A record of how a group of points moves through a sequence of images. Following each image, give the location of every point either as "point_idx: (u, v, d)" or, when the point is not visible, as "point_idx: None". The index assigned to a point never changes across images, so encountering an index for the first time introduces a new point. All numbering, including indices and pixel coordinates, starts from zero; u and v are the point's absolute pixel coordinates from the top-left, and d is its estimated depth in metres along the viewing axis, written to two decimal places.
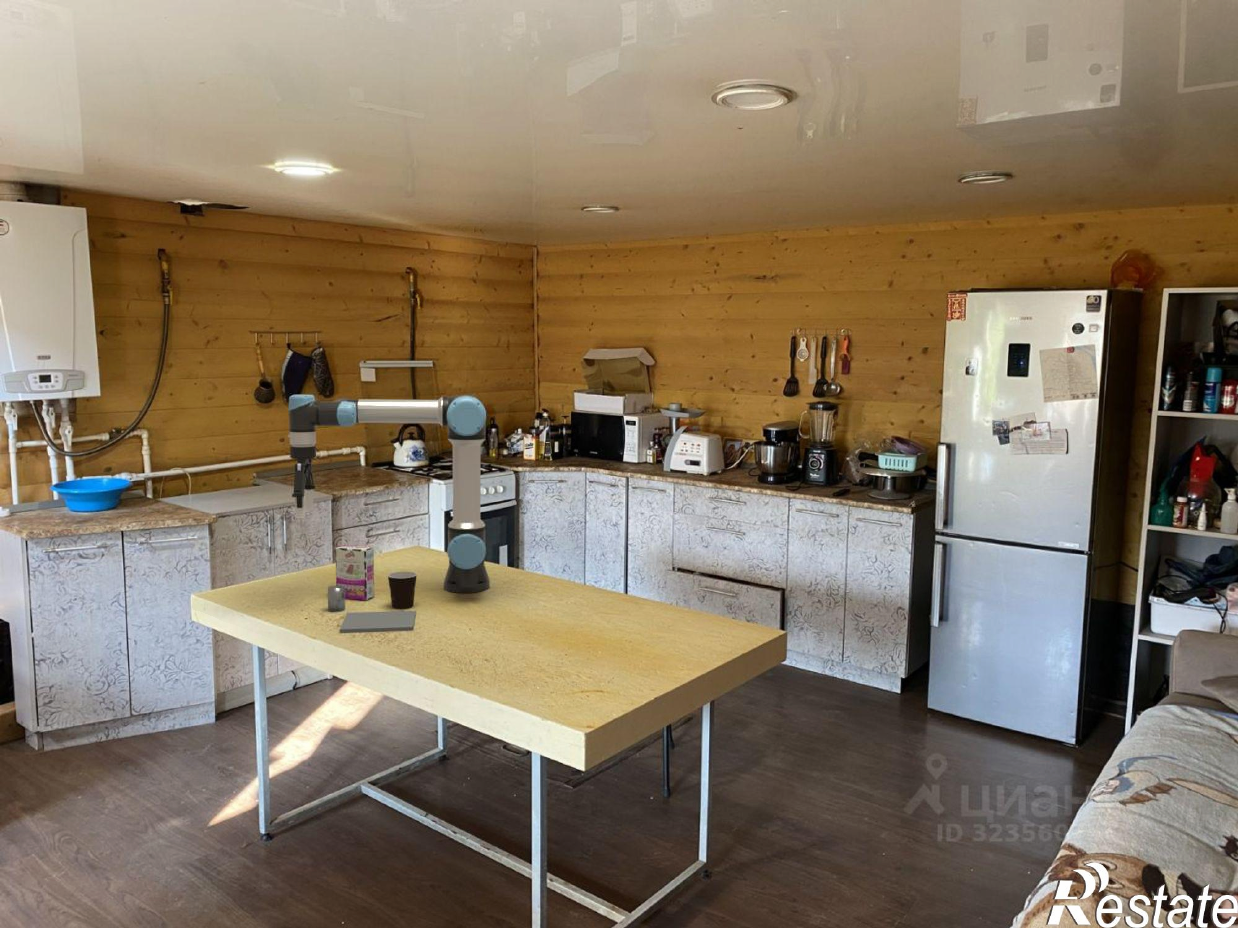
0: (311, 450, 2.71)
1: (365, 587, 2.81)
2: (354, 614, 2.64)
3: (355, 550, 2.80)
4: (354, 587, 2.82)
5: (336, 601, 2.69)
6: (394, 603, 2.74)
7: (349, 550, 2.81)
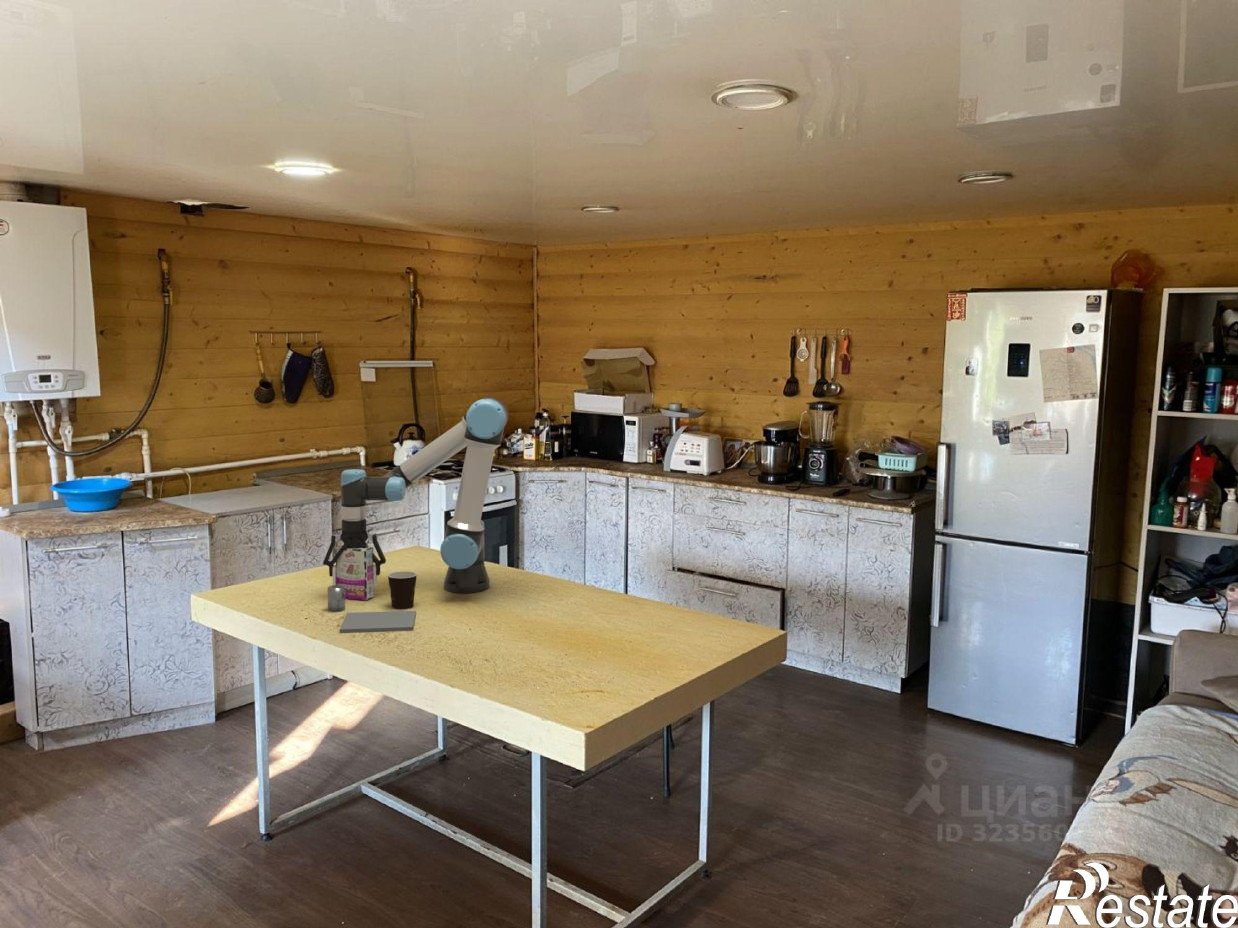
0: (344, 524, 2.79)
1: (365, 587, 2.81)
2: (354, 614, 2.64)
3: (355, 550, 2.80)
4: (354, 587, 2.82)
5: (336, 601, 2.69)
6: (394, 603, 2.74)
7: (349, 550, 2.81)
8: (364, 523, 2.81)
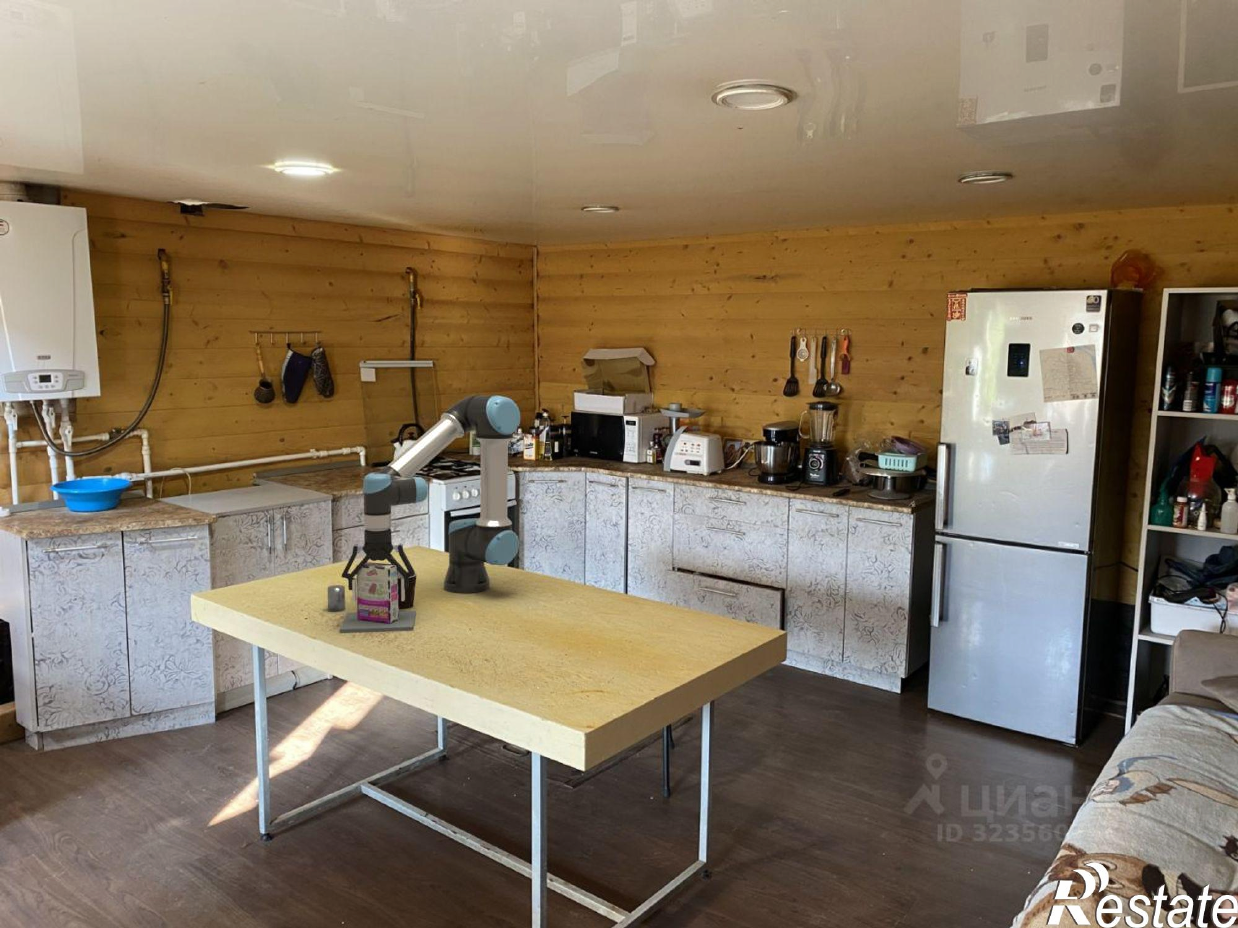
0: (368, 534, 2.53)
1: (388, 608, 2.55)
2: (354, 614, 2.64)
3: (378, 568, 2.55)
4: (377, 609, 2.56)
5: (336, 601, 2.69)
6: None
7: (371, 568, 2.55)
8: (389, 533, 2.55)
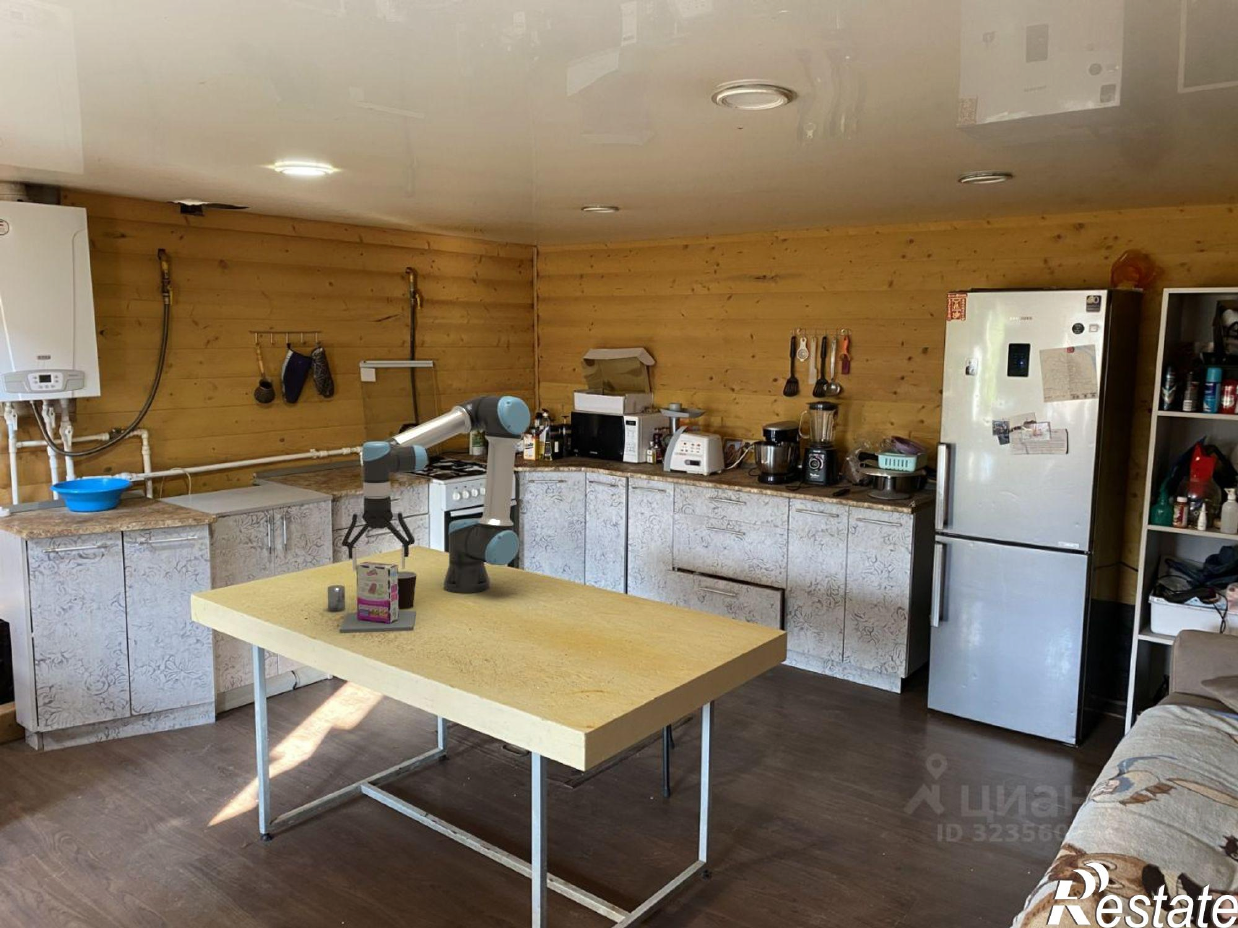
0: (367, 502, 2.52)
1: (388, 608, 2.55)
2: (354, 614, 2.64)
3: (378, 568, 2.55)
4: (377, 609, 2.56)
5: (336, 601, 2.69)
6: None
7: (371, 568, 2.55)
8: (389, 501, 2.54)
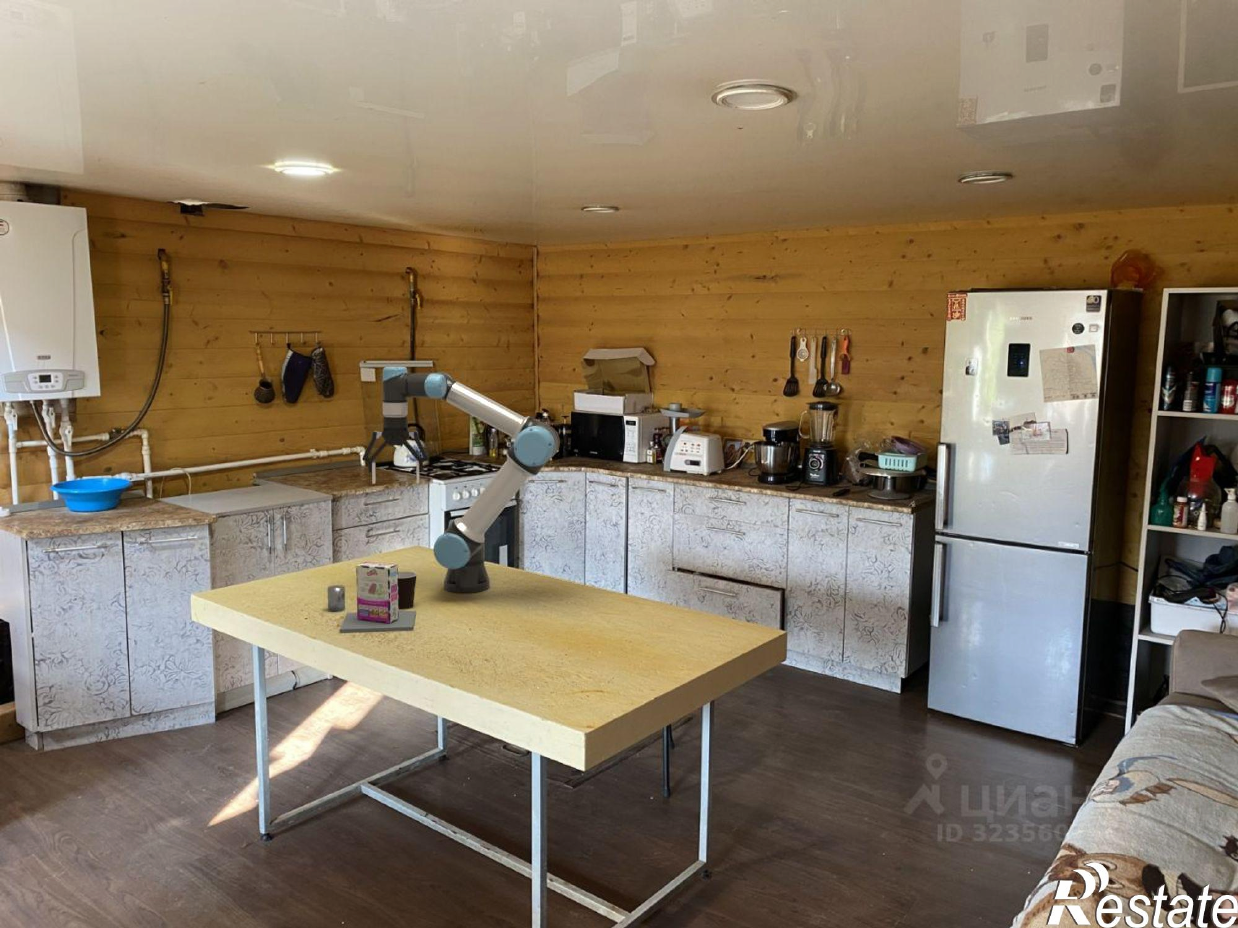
0: (386, 420, 2.78)
1: (388, 608, 2.55)
2: (354, 614, 2.64)
3: (378, 568, 2.54)
4: (377, 609, 2.56)
5: (336, 601, 2.69)
6: None
7: (371, 568, 2.55)
8: (405, 420, 2.80)
